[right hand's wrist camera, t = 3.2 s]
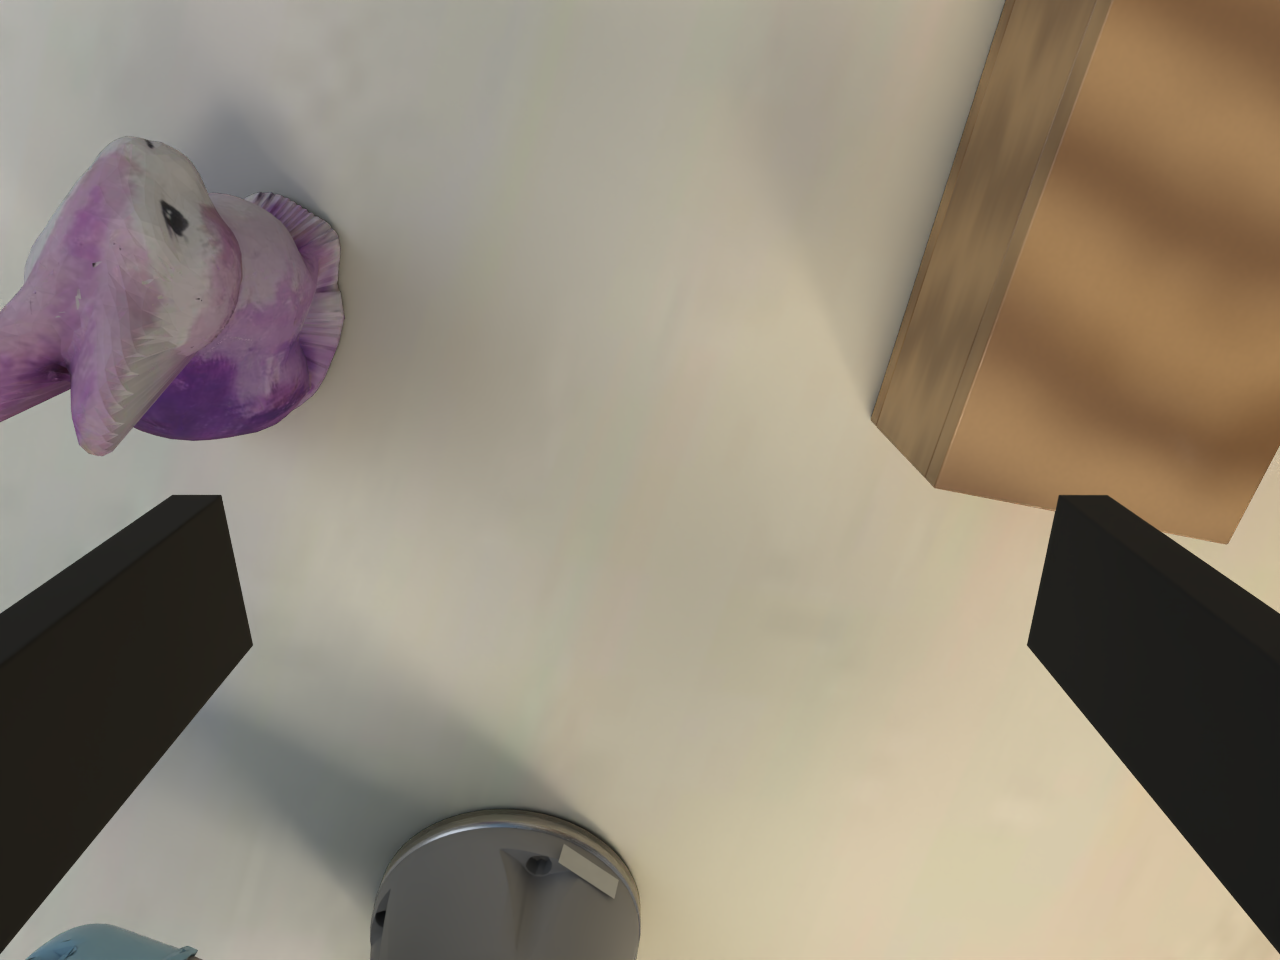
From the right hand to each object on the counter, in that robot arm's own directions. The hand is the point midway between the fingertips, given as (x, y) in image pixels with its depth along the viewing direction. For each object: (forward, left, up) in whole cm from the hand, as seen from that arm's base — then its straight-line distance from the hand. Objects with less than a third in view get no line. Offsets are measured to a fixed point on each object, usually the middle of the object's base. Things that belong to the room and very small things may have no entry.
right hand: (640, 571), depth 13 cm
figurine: (+8, +14, -23) cm, 28 cm away
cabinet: (-3, -18, -23) cm, 29 cm away
